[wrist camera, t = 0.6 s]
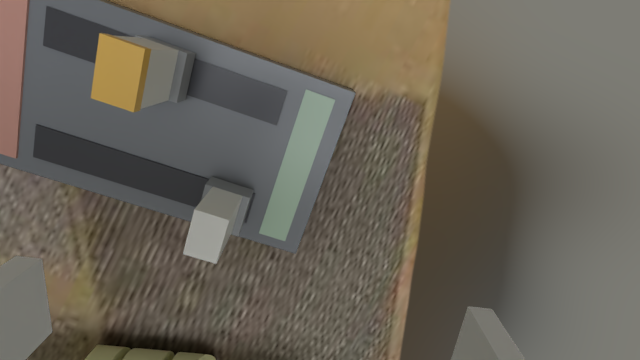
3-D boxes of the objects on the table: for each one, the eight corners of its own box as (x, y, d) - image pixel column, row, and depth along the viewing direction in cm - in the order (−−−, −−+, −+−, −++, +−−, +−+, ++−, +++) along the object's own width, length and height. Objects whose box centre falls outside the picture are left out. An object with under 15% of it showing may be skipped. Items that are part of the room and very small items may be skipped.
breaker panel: (0, 145, 33) (-121, 181, 24) (11, -35, 28) (-137, -76, 19) (297, 237, 36) (289, 300, 27) (352, 89, 31) (365, 104, 22)
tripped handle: (138, 84, 28) (80, 94, 21) (147, 35, 26) (89, 29, 20) (185, 100, 28) (142, 115, 21) (195, 52, 27) (154, 52, 20)
